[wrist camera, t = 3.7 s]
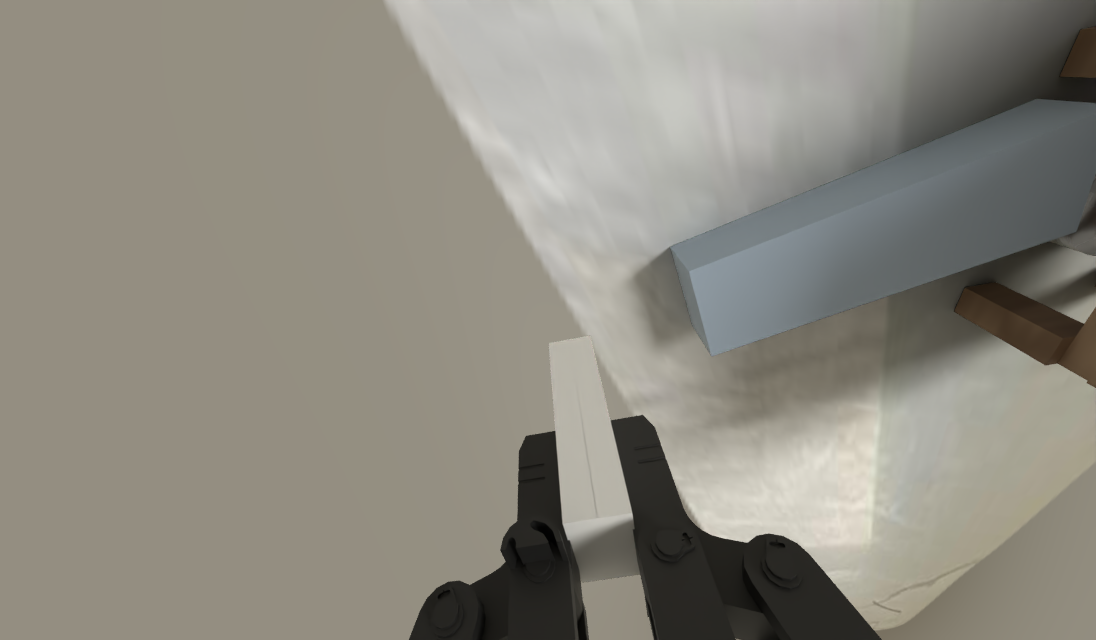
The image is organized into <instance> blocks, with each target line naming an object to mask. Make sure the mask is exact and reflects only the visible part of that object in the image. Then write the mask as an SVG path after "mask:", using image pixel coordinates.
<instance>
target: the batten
mask: <svg viewBox="0 0 1096 640" xmlns="http://www.w3.org/2000/svg"><path fill="white" fill-rule="evenodd" d="M1095 174H1096V103H1087V102H1073V101H1059V100H1045V99H1035V100H1032V101H1030V102H1027V103H1025V104H1022V105H1020V106H1018V107H1015V108H1013V109H1010V110H1008V111H1005V112H1003V113H1000V114H998V115H995V116H993V117H990V118H988V119H985V120H983V121H980V122H978V123H975V124H973V125H970V126H968V127H966V128H963V129H961V130H958V131H956V132H953V133H951V134H948V135H946V136H943V137H941V138H938V139H936V140H933V141H931V142H928V143H926V144H923V145H921V146H918V147H916V148H913V149H911V150H909V151H906V152H904V153H901V154H899V155H896V156H894V157H891V158H889V159H886V160H884V161H881V162H879V163H876V164H874V165H871V166H869V167H866V168H864V169H861V170H859V171H857V172H854V173H852V174H849V175H847V176H844V177H842V178H839V179H837V180H834V181H832V182H829V183H827V184H824V185H822V186H819V187H817V188H814V189H812V190H809V191H807V192H804V193H802V194H800V195H797V196H795V197H792V198H790V199H787V200H785V201H782V202H780V203H777V204H775V205H772V206H770V207H767V208H765V209H762V210H760V211H757V212H755V213H752V214H750V215H748V216H745V217H743V218H740V219H738V220H735V221H733V222H730V223H728V224H725V225H723V226H720V227H718V228H715V229H713V230H710V231H708V232H705V233H703V234H700V235H698V236H695V237H693V238H691V239H688V240H686V241H683V242H681V243H678V244H676V245H673V246H671V247H670V248H671V252H672V255H673V259H674V262H675V266H676V269H677V273H678V276H679V280H680V284H681V287H682V291H683V294H684V298H685V301H686V305H687V308H688V312H689V315H690V319H691V322H692V326H693V327H694V329H695V331H696V332H697V334H698V335H699V337H700V339H701V340H702V342H703V344H704V345H705V347H706V348H707V350H708V352H709V353H710V355H711V356H715V355H717V354H720V353H723V352H726V351H729V350H732V349H735V348H738V347H741V346H744V345H747V344H750V343H753V342H755V341H758V340H761V339H764V338H767V337H770V336H773V335H776V334H779V333H782V332H785V331H788V330H791V329H794V328H796V327H799V326H802V325H805V324H808V323H811V322H814V321H817V320H820V319H823V318H826V317H829V316H832V315H834V314H837V313H840V312H843V311H846V310H849V309H852V308H855V307H858V306H861V305H864V304H867V303H870V302H873V301H875V300H878V299H881V298H884V297H887V296H890V295H893V294H896V293H899V292H902V291H905V290H908V289H911V288H913V287H916V286H919V285H922V284H925V283H928V282H931V281H934V280H937V279H940V278H943V277H946V276H949V275H951V274H954V273H957V272H960V271H963V270H966V269H969V268H972V267H975V266H978V265H981V264H984V263H987V262H990V261H992V260H995V259H998V258H1001V257H1004V256H1007V255H1010V254H1013V253H1016V252H1019V251H1022V250H1025V249H1028V248H1030V247H1033V246H1036V245H1039V244H1042V243H1045V242H1048V241H1051V240H1054V239H1057V238H1060V237H1063V236H1066V235H1069V234H1071V233H1074V232H1076V231H1077V228H1078V225H1079V222H1080V219H1081V216H1082V213H1083V210H1084V207H1085V204H1086V201H1087V198H1088V195H1089V192H1090V189H1091V186H1092V183H1093V180H1094V177H1095Z"/></svg>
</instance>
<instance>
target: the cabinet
mask: <svg viewBox="0 0 1096 640" xmlns="http://www.w3.org/2000/svg"><path fill="white" fill-rule="evenodd" d="M1060 77H1088V78H1096V26H1094V27H1090V28H1085V29H1081V30H1080V32H1079V35H1078V37H1077V39H1076V41H1075V43H1074V46H1073V48H1072V50H1071V52H1070V55H1069V57H1068V59H1067V61H1066V63H1065V66H1064V68H1063V70H1062V72H1061V75H1060ZM1095 287H1096V285H1095ZM954 312H956V313H957V314H959V315H961V316H963V317H964V318H966V319H968V320H969V321H971V322H973V323H974V324H976V325H978V326H980V327H981V328H983V329H985V330H986V331H988V332H990V333H991V334H993V335H995V336H997V337H998V338H1000V339H1002V340H1003V341H1005V342H1007V343H1008V344H1010V345H1012V346H1013V347H1015V348H1017V349H1019V350H1020V351H1022V352H1024V353H1025V354H1027V355H1029V356H1030V357H1032V358H1034V359H1036V360H1037V361H1039V362H1041V363H1042V364H1044V365H1050V364H1056V363H1058V364H1060V365H1061V366H1063V367H1065V368H1067V369H1068V370H1070V371H1072V372H1074V373H1075V374H1077V375H1079V376H1081V377H1082V378H1084V379H1086V380H1088V381H1087V383H1088V384H1090V385H1091V386H1093V387H1095V388H1096V308H1095V309H1094V311H1093V312H1092V314H1091V315H1090V317H1089V318H1088V319H1087V321H1086V322H1085V324H1083V323H1081V322H1079V321H1077V320H1074V319H1072V318H1070V317H1068V316H1066V315H1064V314H1062V313H1060V312H1058V311H1055V310H1053V309H1051V308H1049V307H1047V306H1045V305H1043V304H1041V303H1039V302H1036V301H1034V300H1032V299H1030V298H1028V297H1026V296H1024V295H1022V294H1020V293H1017V292H1015V291H1013V290H1011V289H1009V288H1007V287H1005V286H1003V285H1001V284H998V283H996V282H993V283H988V284H982V285H977V286H971V287H965V288H964V290H963V293H962V295H961V297H960V299H959V302H958V304H957V306H956V308H955V310H954Z"/></svg>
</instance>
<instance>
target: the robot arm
mask: <svg viewBox="0 0 1096 640" xmlns="http://www.w3.org/2000/svg"><path fill="white" fill-rule="evenodd" d="M549 354H550V367H551V380H552V393H553V406H554V419H555V431H552V432H547V433H541V434H535V435H529V436H526V437H525V440H524V442H523V444H522V446H521V448H520V450H519V473H518V481H519V485H518V518H517V520H518V521H517V522H516V523H515V524H513V525H512V526H511V527H510V528H509V530H508V531H507V533H506V534H505V536H504V538H503V541H502V545H501V552H502V555H503V557H504V559H505V561H506V562H505V563H504V564H503V565H502V566H501V567H500V568H499V569H497V570H496V571H494V572H493V573H491V574H489V575H488V576H486V577H484V578H482V579H480V580H478V581H476V582H475V583H473V584H471V585H469V584H466V583H464V582H461V581H452V582H447V583H445V584H443V585H442V586H440V587H438V588H436V590H435V591H434V592H433V593H432V594H431V595H430V596H429V597H428V598H427V599H426V601H425V603H424V605H423V607H422V608H421V610H420V613H419V615H418V618H417V620H416V623H415V625H414V628H413V631H412V633H411V636H410V638H409V640H589V636H588V626H587V618H586V610H585V607H584V604H583V600H582V590H581V582H582V583H584V582H590V581H597V580H605V579H612V578H619V577H626V576H632V575H641V579H642V584H643V589H644V593H645V600H646V608H647V615H648V617H649V620H650V624H651V629H652V633H653V637H654V640H736V639H735V638H737V639H741V640H881V638H880V637H879V636H878V635H877V634H876V632H875V631H874V630H873V629H872V628H871V626H870V625H869V624H868V623H867V622H866V621H865V619H864V618H863V617H862V616H861V615H860V613H859V612H858V611H857V610H856V609H855V608H854V606H853V605H852V604H851V603H850V602H849V601H848V599H847V598H846V597H845V596H844V595H843V593H842V592H841V591H840V590H839V589H838V588H837V586H836V585H835V584H834V583H833V582H832V580H831V579H830V578H829V577H828V576H827V575H826V573H825V572H824V571H823V570H822V569H821V568H820V566H819V565H818V564H817V563H816V562H815V560H814V559H813V558H812V557H811V556H810V555H809V554H808V553H807V552H806V551H805V550H804V549H803V548H802V547H801V546H799V545H798V544H797V543H795V542H793V541H791V540H789V539H788V538H786V537H784V536H779V535H774V534H764V535H759V536H756V537H755V538H753V539H752V540H751V541H749V542H748V543H745V542H739V541H734V540H729V539H723V538H719V537H716V536H712V535H710V534H708V533H706V532H704V531H702V530H701V529H700V528H698V527H697V526H696V525H695V524H694V523H693V522H692V521H691V520H690V519H689V517H688V516H687V514H686V512H685V510H684V508H683V506H682V503H681V500H680V497H679V494H678V491H677V489H676V486H675V483H674V480H673V477H672V474H671V472H670V469H669V466H668V463H667V460H666V459H665V455H664V452H663V449H662V446H661V444H660V441H659V438H658V435H657V432H656V430H655V427H654V426H653V425H652V424H651V423H650V422H649V421H648V420H647V419H646V418H645V417H644V416H643V415H640V416H634V417H628V418H623V419H617V420H611V421H610V416H609V412H608V408H607V404H606V399H605V395H604V391H603V387H602V383H601V378H600V374H599V370H598V366H597V361H596V357H595V353H594V349H593V344H592V340H591V336H585V337H579V338H574V339H568V340H563V341H558V342H552V343H549ZM580 579H581V580H580Z"/></svg>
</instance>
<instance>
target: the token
mask: <svg viewBox="0 0 1096 640" xmlns="http://www.w3.org/2000/svg"><path fill="white" fill-rule="evenodd" d="M1050 242H1053V243H1056V244H1059V245H1062V246H1065V247H1067V248H1070V249H1073V250H1076V251H1079V252H1082V253H1085V254H1088V255H1093V256H1096V174H1095V177H1094V180H1093V183H1092V186H1091V189H1090V192H1089V195H1088V198H1087V201H1086V204H1085V207H1084V210H1083V213H1082V216H1081V219H1080V222H1079V225H1078V228H1077V231H1076V232H1074V233H1071V234H1069V235H1066V236H1063V237H1060V238H1057V239H1054V240H1051V241H1050Z"/></svg>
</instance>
